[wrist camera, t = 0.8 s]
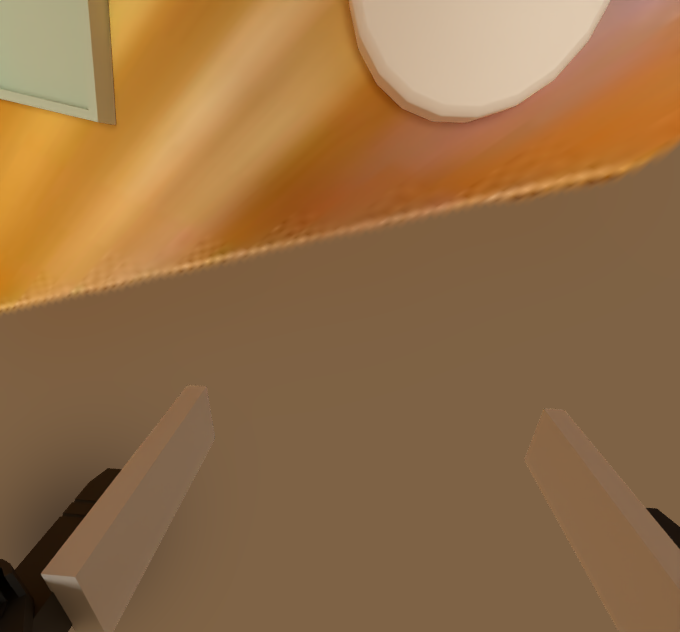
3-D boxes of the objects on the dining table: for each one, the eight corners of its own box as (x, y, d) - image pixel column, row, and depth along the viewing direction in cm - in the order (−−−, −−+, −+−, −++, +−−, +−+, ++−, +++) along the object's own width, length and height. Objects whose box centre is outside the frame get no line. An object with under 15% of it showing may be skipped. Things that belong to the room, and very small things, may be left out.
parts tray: (-40, -99, 27) (-77, -123, 24) (104, -61, 27) (80, -82, 25) (-3, 96, 32) (-30, 91, 30) (116, 125, 33) (98, 122, 31)
